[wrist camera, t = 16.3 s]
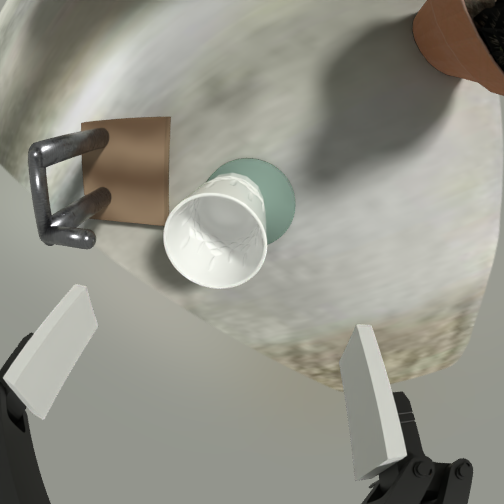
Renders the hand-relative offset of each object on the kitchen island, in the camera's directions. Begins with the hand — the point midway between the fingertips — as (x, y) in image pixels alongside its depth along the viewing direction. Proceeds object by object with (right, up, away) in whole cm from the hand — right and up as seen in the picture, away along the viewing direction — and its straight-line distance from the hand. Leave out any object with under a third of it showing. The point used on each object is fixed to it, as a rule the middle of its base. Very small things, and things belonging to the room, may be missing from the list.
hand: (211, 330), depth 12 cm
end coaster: (+1, +9, +17) cm, 20 cm away
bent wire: (-13, +13, +15) cm, 23 cm away
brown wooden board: (-13, +13, +16) cm, 24 cm away
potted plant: (+24, +28, +6) cm, 37 cm away
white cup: (0, +9, +17) cm, 19 cm away
